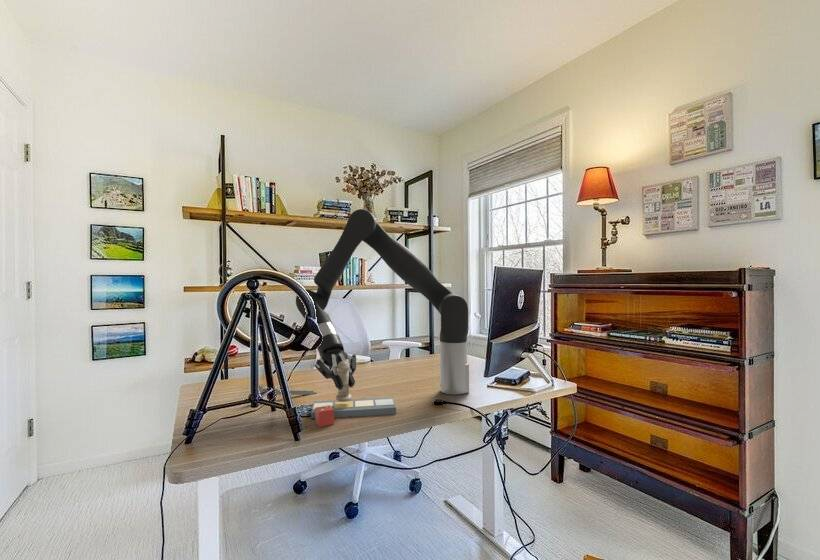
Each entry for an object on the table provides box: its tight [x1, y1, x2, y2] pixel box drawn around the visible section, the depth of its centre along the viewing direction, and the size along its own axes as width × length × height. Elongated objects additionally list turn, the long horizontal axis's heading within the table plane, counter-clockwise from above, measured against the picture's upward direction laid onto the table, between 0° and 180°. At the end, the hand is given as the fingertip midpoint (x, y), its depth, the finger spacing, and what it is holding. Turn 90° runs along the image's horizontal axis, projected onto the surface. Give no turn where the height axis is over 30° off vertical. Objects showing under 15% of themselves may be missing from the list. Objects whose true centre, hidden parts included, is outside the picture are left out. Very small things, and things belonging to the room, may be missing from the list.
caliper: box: [259, 384, 318, 398], centre depth 132 cm, size 20×1×6 cm, turn 124°
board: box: [310, 396, 397, 419], centre depth 119 cm, size 24×10×2 cm, turn 98°
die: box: [314, 405, 335, 428], centre depth 109 cm, size 4×4×4 cm
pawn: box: [335, 361, 352, 402], centre depth 118 cm, size 4×4×11 cm
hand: (346, 386), depth 117 cm, fingers closed on pawn, 3 cm apart
